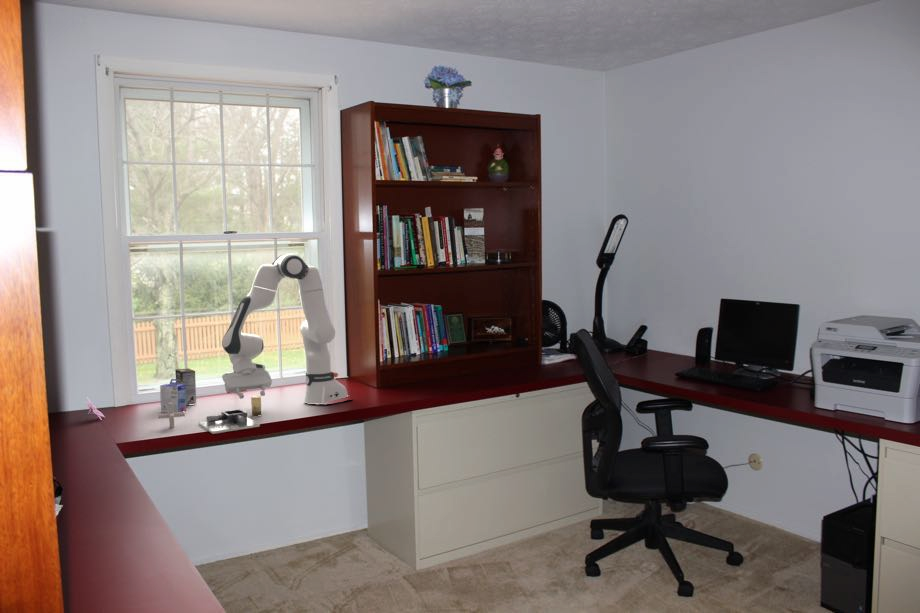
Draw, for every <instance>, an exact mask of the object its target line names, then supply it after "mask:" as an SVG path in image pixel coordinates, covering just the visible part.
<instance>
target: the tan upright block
mask: <svg viewBox="0 0 920 613" xmlns="http://www.w3.org/2000/svg"><path fill="white" fill-rule="evenodd" d="M250 399H251V404H250V405H251V417H253V416H258V415H261V416H262V396H251V398H250ZM258 417H259V416H258Z"/></svg>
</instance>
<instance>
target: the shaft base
mask: <svg viewBox="0 0 920 613" xmlns="http://www.w3.org/2000/svg"><path fill="white" fill-rule="evenodd" d="M197 423H198V424H199V426H200V427H201V426H202V427H201V428H203V429H204V428H205V429H204V430H206V429H207V430H208V431H207V430H206V431H207V432H209V433H211V434H212V435H214V434H221V433H226V432H233V431H239V430H247V429H253V428H259V427H260V426H261V424H260V423H258V422H257V421H255V420H253V419H251V418H249V417H248V412H247V411H245V410H243V409H242V408H238V409H229V410H223V411H221V414H215V415H208V416H206V420H203V421H198V422H197Z"/></svg>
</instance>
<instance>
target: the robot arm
mask: <svg viewBox="0 0 920 613" xmlns="http://www.w3.org/2000/svg"><path fill="white" fill-rule="evenodd" d="M319 270H320V269H319V268H318V267H316V266H313V265H307V263H306V262H305V261H304V259H303V258H302V257H301V256H300V255H297V254H294V253H285V254H282V255H279V256H278V257H277V258H275V260H274V261H273V262H272V263H264V264H262V265H261V264H260V266H259V268H258V270H257V272H256V273H255V276H254V279H253V282H252V285H251V286H252V287H251V288H250V291H249V293H248V294H247V295H246V296H243V297H242V299H241V300H240V302H239V304H238V306H237V308H236V310H235V313H234V315H233V317H232V320H231V323H230V325H229V327H228V329H227V330H226V332H225V334H224V336H223V337H222V340H221V347H222V348H223V350H224V351H225V352H226V354H228V357H229V360H230V363H231V364H232V370H233V371H232V372H231V371H230V372H225V373H223V374H222V376H221V377H222V381H223V382H224V387H225V388H224V389H225V391H226V392H227V393H235V394H236V395H237V396H238V398H239V399H240V400H241V399H244V397H245V395H244V393H243V392H242V391H250V390H251V391H252V390H259V389H261V390H260V392H259V393H260V397H264V396H266V392H265V390H266V389H267V388H270V387H271V385H272V384H273V380H272V378H271V375H270V373H269V372H268V370H266V366H265V364H260V363H255V362H253V361H252V360H254V359H256V358H257V357H258V356H260V354H262V352H263V351H264V348H265V346H264V344H265V343H264V341H263V338H262V337H261V336H260V335H257V334H252V333H245V332H242V330H243V328H244V325H245V323H246V321H247V318H248V316H249V315H250V314H251V313H252V312H254V311H258V310H262V309H266V308H269V307H270V306H271V305H273V303H274V301H275V300H276V297H277V293H278V289H279V285H280V283H281V281H282V280H283V279H284V278H285V279H294V280H295V281H296V282H297V284H298V293H299V298H300V305H301V310H302V312H303V314H304V317H305V319H306V320H304V321H303V322H302V323H301V325H300V334H301V336H302V342H303V347H304V352H305V358H306V359H305V363H306V364H305V365H306V372H305V385H306V389H305V396H304V401H305V402H307V403H325V402H329V401H333V400H337V399H341V398H345V397H348V396H349V395H348V390H347V387H346V386H345V385H344V384H342V383H340V381H338V380H336V379H335V378H338V376H339V373H338V372H333V371H331V366H332V365H331V355H330V351H329V347H328V344H329V343H331V342H333V340H334V339H335V337H336V329H335V327H334V325H333V323H332V320H331V316H330V313H329V310H328V307H327V303H326V296H325V289H324V282H323V280H322V276H321V274H320V273H321V272H320V271H319ZM304 401H303V402H304Z"/></svg>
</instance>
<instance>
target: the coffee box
mask: <svg viewBox="0 0 920 613" xmlns="http://www.w3.org/2000/svg"><path fill="white" fill-rule="evenodd" d="M174 371H175V379H178V382H177V384H184V385H185V394H186V405H189V404H195V403H196V404H197V389H196V388H197V387H196V385H197V384H196V383H197V382H196V371H195V370H194V369H191V368H178V369H175V370H174Z"/></svg>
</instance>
